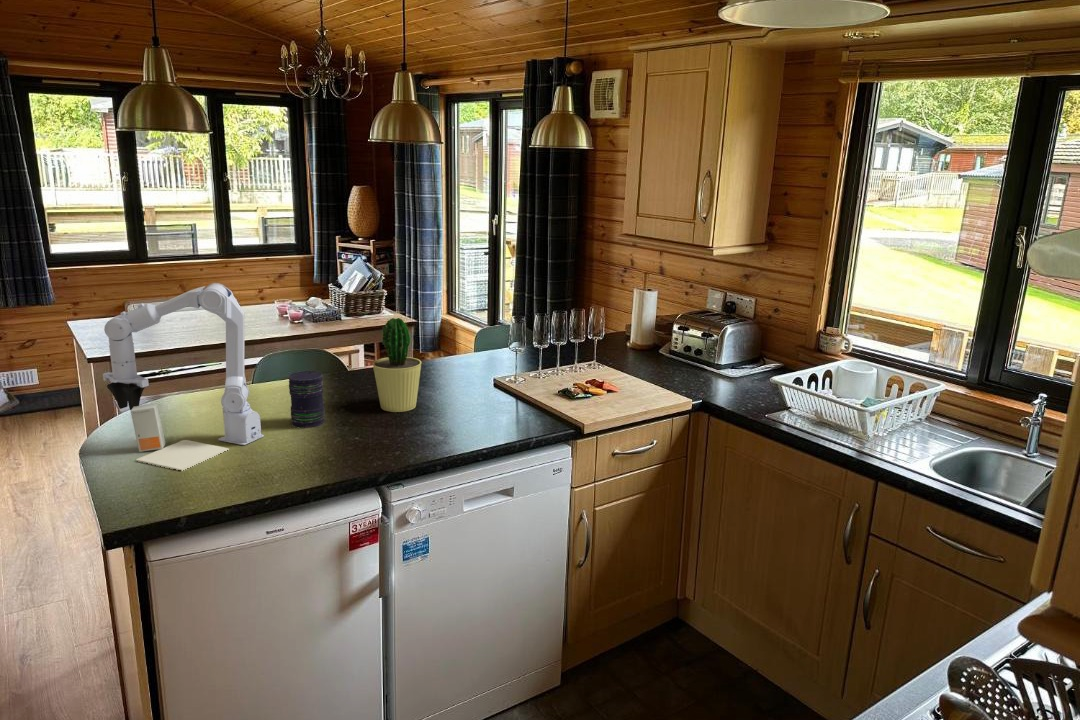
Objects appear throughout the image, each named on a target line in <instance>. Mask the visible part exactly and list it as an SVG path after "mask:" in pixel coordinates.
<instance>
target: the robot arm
mask: <svg viewBox="0 0 1080 720" xmlns="http://www.w3.org/2000/svg"><path fill="white" fill-rule="evenodd" d="M187 307H191V308H194V309H195V308H196V309H199V308H200V307H201V308H202V309H203V310H205V311H206V312H210V313H212V314H214V315H217V317H219V318H221V319H222V320H223V321H224V322H225V383H224V392H223V394H222V396H221V398H220V404H221V406H222V415H223V416H222V417H223V427H224V436H220V437H219V438H218V439H217V440H218V441H221V442H226V443H231V444H236V445H241V446H246V445H248V444H250V443H252V442H253V443H254V442H255V441H256V440H259V439H261V438H263V437H264V434H262V426H261V416H260V414H259V412H257V411H255V410H254V409H252V408H251V405H250V403H249V402H248V400H247V399H248V398H249V396H250V389H249V387H248V385H247V380H246V379H247V378H246V374H245V312H244V310H243V308H242V307H241V306H240V304H239V303H238V300H237V299H236V298H235V296H234V294H233V291H232V290H230V289H229V288H228V287H226V286H225V285H224V284H222V283H218V282H213V283H210V284H209V285H207V286H206V285H205V286H199V287H197V288H193V289H190V290H187V291H186V292H184V293H182V294H179V295H176V296H175V297H173V298H170V299H168V300H166V301H163V302H161V303H159V304H155V305H154V304H151V303H146V304H145V303H143V302H142V303H140V304H138V305H137V307H136V308H134V309H131V310H129V311H127V312H126V311H122V312H120V314H119V315H116V316H113V317H112V318H111V319H109V320H108V321H107V322H106V323H105V324H104V328H103V329H104V333H105V335H106V337H108V343H109V344H108V345H109V346H108V348H109V355H110V356H109V357H110V362H111V371H112V372H111V371H109V372H108V371H107V372H105V373H102V379H103V381H104V382H108V381H110V383H108V384H107V385H106V388H107V389H108V390H109V392H111V394H112V396H113V398H114V399H115V401H116V404H117V406H118V409H120V410H122V409H125V408H128V407H129V411H130V412H131V410H132V408H133V407H134V406H140V403H141V398H142V395H143V392H144V390H145V389H146V387H149V386H150V385H149V379H148V378H145V377H143V376H141V375H139V374H138V371H137V362H136V353H135V352H136V351H135V344H134V340H133V339H134V338H133V333H138V332H141V331H143V330H145V329H147V328H150V327H152V326H155V325H158V324H159V323H160V322H161V318H162V317H164V316H166V315H169V314H171V313H174V312H177V311H181V310H182V309H184V308H187Z"/></svg>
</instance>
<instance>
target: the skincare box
mask: <svg viewBox="0 0 1080 720" xmlns="http://www.w3.org/2000/svg"><path fill="white" fill-rule="evenodd" d="M130 416H131V420H132V424H133V429H134V430H133V431H134V434H135V439H136V442H137V448H138V452H139V453H141V452H149V451H158V450H160V449H163V448H165V445H166V444H167V443H166V439H165V435H164V434H165V433H164V430H163V425H162V424H163V423H162V420H161V419H162V418H161V415H160V410H159V405H158V403H147V404H142V405H139V406H134V407H133V408H132V410H131V411H130Z"/></svg>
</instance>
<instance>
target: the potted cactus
mask: <svg viewBox="0 0 1080 720" xmlns="http://www.w3.org/2000/svg"><path fill="white" fill-rule="evenodd" d="M406 322H407V321H405V320H404V319H403V318H401V317H396V318H395V317H393V318H392V317H391V318H390V319H389V318H387V321H386V322H385V323H384V326H383V327H382V334H381V338H382V339H381V342H382V344H381V346H383V345H384V348H386V353H387V355H386V357H384V358H383V357H382V358H379V359H376V360H374V361H373V362H372V367H373V372H374V378H375V382H376V383H375V384H376V388H377V394H378V400H379V405H380V408H381V410H383V411H386V412H391V413H397V412H398V413H400V412H401V413H402V412H407V411H412V410H413V409H415V408H416V407H417V399H418V393H419V385H420V377H421V369H422V361H421V360H420V359H418V358H415V357H410V356H408V355H409V353H408V352H409V351H410V349H409V347H410V345H411V343H412V344H413V340H411V339H412V336H411V335H410V331H409V329H410V327H408V325H407V323H406ZM381 346H380V347H381Z"/></svg>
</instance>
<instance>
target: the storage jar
mask: <svg viewBox="0 0 1080 720" xmlns="http://www.w3.org/2000/svg"><path fill="white" fill-rule="evenodd" d="M288 380H289V381H288V388H289V391H288V392H289V396H290V402H291V403H290V404H291V406H290V418H291V426H292V425H293V427H294V426H295V427H294V428H297V427H299V428H298V429H312V427H313V428H317V427H321V426H323V425H324V424H325V422H326V420H325V414H326V409H325V404H324V395H323V393H324V382H323V373H322V372H319V371H316V370H315V371H314V370H306V371H305V370H304V371H297V372H293V373H290V374H289V375H288ZM320 425H321V426H320Z"/></svg>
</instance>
